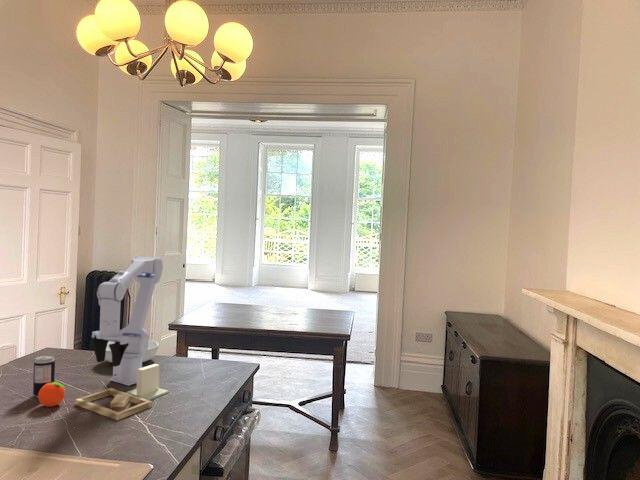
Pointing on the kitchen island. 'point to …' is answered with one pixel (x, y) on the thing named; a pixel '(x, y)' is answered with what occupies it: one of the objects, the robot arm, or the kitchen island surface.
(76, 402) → the wooden rectangular frame
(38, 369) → the beverage can
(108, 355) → the serving bowl
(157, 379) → the cream rectangular block
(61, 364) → the kitchen island surface
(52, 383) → the clementine
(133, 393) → the sage mat
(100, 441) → the kitchen island surface
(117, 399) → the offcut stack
